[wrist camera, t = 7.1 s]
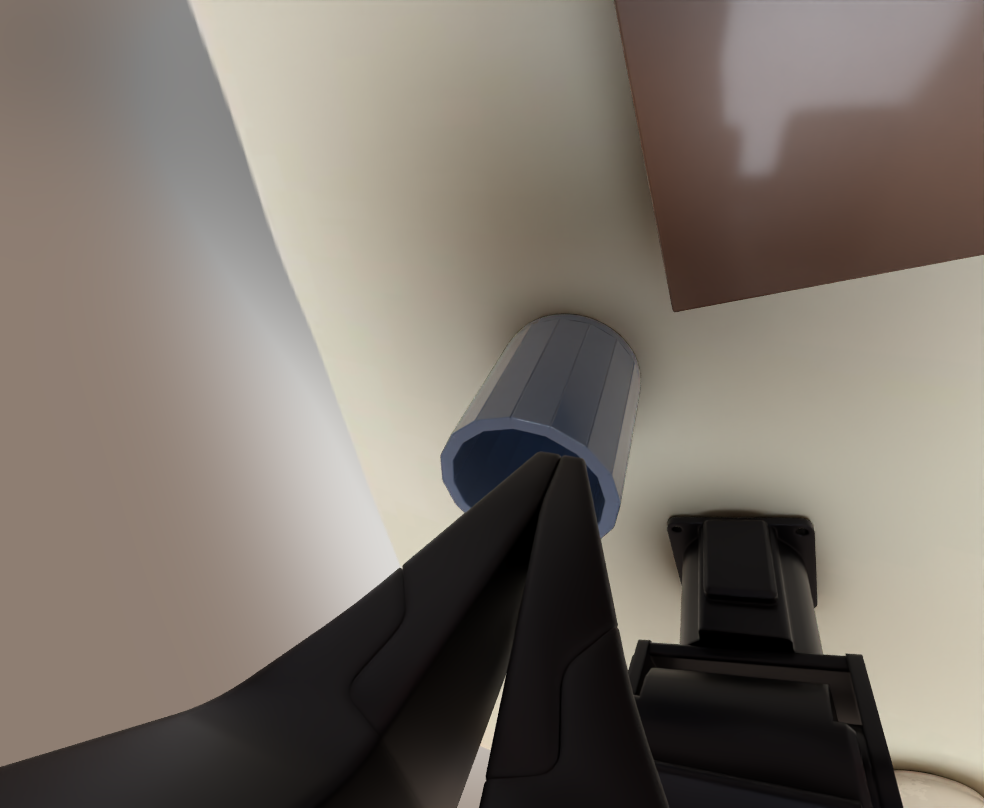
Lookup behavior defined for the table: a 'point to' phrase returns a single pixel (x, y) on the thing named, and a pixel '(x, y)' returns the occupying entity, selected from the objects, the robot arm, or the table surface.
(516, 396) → the cup
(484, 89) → the table surface
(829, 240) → the box lid
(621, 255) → the table surface
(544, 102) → the table surface
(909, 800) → the trinket box
